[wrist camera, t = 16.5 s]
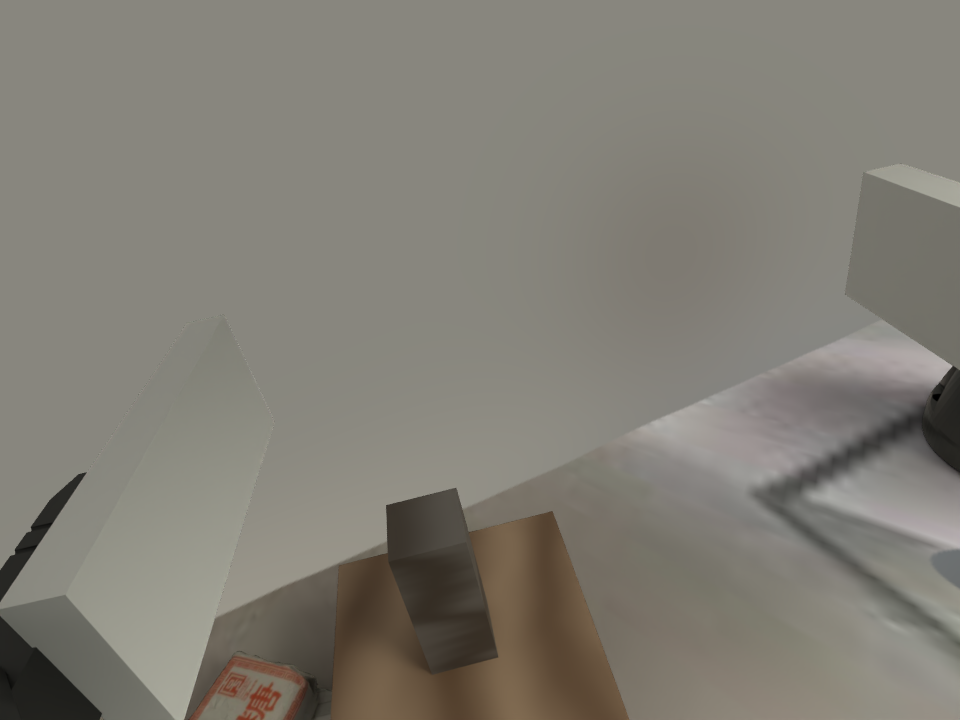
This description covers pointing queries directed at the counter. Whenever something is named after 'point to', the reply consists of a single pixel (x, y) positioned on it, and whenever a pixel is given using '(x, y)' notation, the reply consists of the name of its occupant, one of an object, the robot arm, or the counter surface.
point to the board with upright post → (467, 624)
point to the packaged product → (263, 693)
